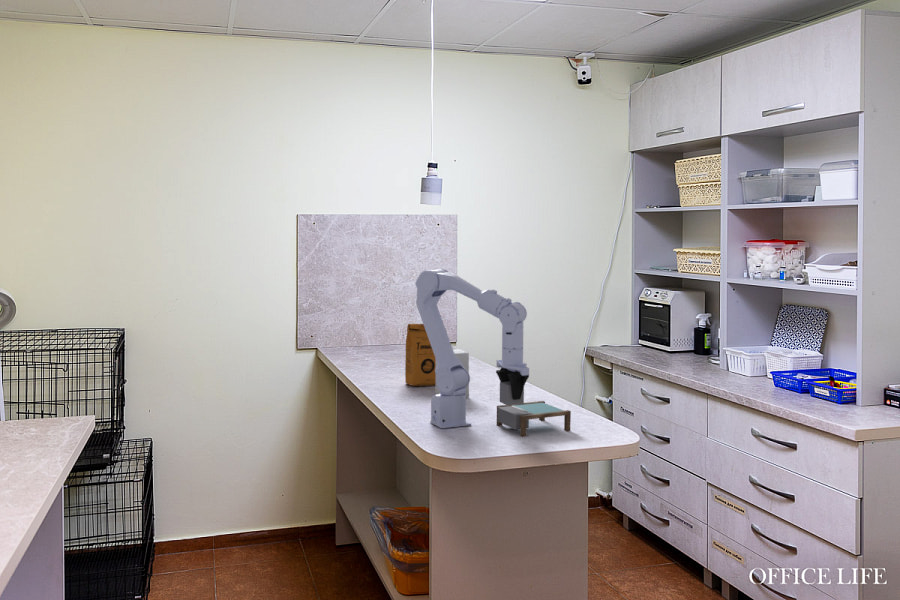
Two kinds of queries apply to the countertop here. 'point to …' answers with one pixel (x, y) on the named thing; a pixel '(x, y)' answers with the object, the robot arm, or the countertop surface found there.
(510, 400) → the gray block
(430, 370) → the coffee package
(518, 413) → the trapdoor
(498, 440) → the countertop surface
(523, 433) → the frame
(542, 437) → the countertop surface
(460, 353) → the supplement box
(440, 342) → the robot arm
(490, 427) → the countertop surface
